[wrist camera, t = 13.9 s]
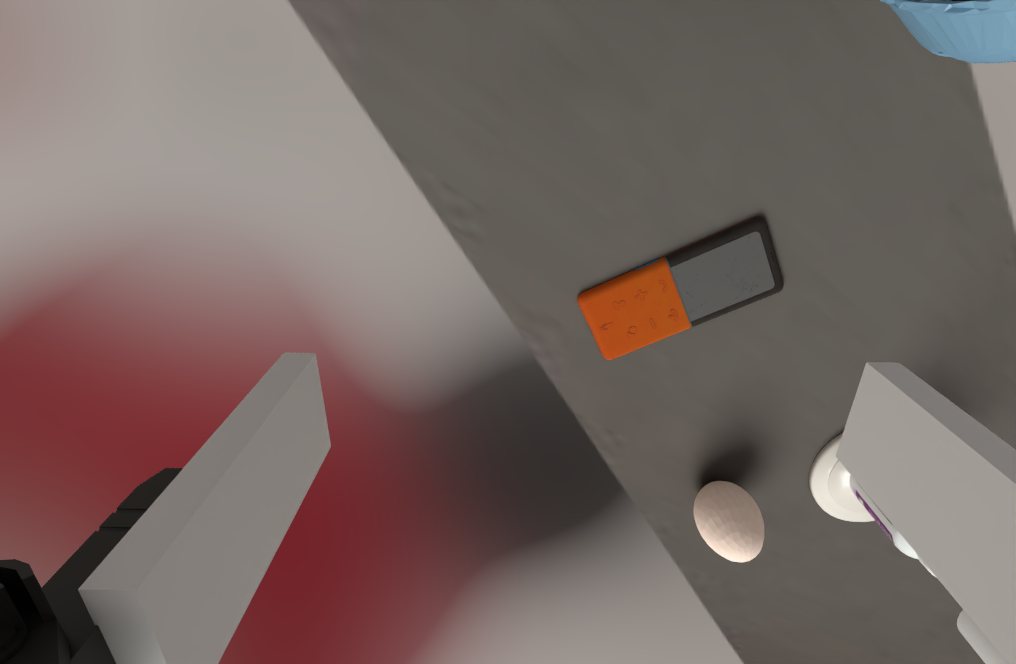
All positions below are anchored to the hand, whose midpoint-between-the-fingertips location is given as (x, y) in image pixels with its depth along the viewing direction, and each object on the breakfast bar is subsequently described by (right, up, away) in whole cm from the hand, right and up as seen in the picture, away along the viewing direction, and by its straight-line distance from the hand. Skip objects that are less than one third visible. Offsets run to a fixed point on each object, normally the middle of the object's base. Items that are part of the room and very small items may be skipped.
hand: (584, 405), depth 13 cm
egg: (+18, -13, +38) cm, 43 cm away
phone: (+12, +5, +30) cm, 32 cm away
